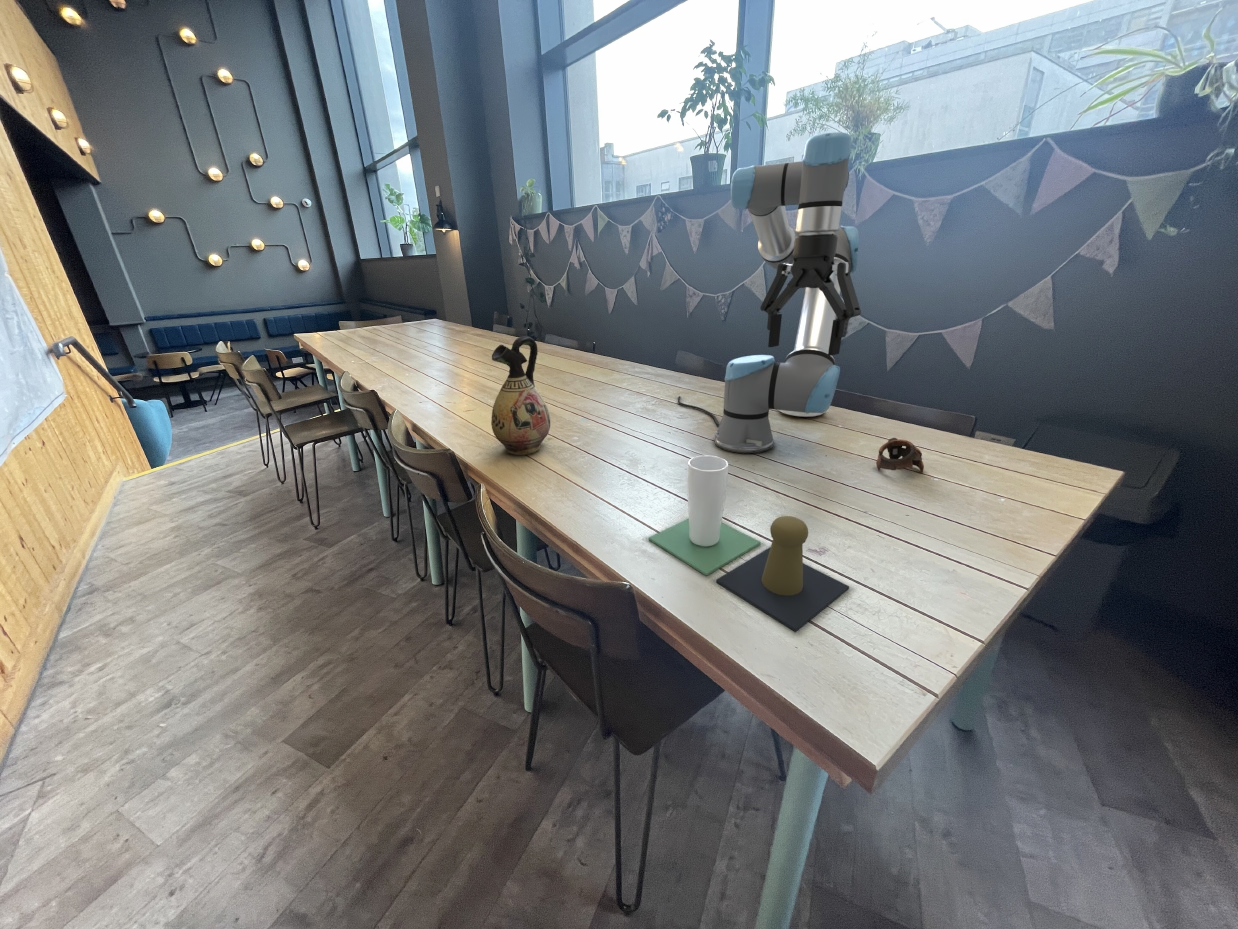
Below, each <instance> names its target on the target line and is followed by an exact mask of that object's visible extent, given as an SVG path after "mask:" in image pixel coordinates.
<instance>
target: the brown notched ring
mask: <svg viewBox="0 0 1238 929" xmlns="http://www.w3.org/2000/svg"><path fill="white" fill-rule="evenodd" d="M885 450H887V453H888V457H886V456H885V455H884V452H885ZM922 456H923V453H922V451H921V449H920V448H918V447H917V446H916V445H914V444H913V442H911V441H909V440H907V439H900V438H899V439H898V438H897V437H892V438H889V439H888V440H887V442H885V443H884V444H882V445H881V446H880V447H879V449H878V455H877V459H876V461H875V463H876V464H875V465H876V469H877V470H878V471H881V469H882V470H888V471H896V470H903V469H911V470H913V469H914V467H913V466H915V467H917V468H918V469H919V471H920V473H921V474H922V473H923V474H924V469H925V464H924V462H923V458H922Z"/></svg>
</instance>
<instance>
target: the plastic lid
mask: <svg viewBox="0 0 1238 929" xmlns="http://www.w3.org/2000/svg"><path fill="white" fill-rule="evenodd" d="M778 412H780V413H782V414H786V415H789V416H795V417H816V416H821V415H823V414H824V413H805V412H795V411H785V410H778Z"/></svg>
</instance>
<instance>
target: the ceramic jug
mask: <svg viewBox="0 0 1238 929" xmlns="http://www.w3.org/2000/svg"><path fill="white" fill-rule="evenodd" d="M511 345H512V346H511V348H509V347H508V346H505V345H504V344H499V345H498V346H497V347H496V348H495V349H494V350H493V352H492V354H491V361H493V362H496V363H500V364H503V365H505V366H507V367H509V370H508V375H507V377H506V379H505V381H504V382H503V384H502V386H501V388H500V389H499V392H498V394H497V395H496V398H495V401H494V403H493V406H492V410H491V421H490V422H491V424H490V426H491V430H492V433H493V435H494V437H495V438H496V440H497V441H498V442H499V443H500V444H501V445H502V446H503V447H504V448H505V451H506V454H511V455H515V456H526V455H530V454H533V453H536V452H538V451H539V450H540V449H541V446H542V445H541V444H542V443H543V441H544V440H545V439H546V438H547V436H548V435H549V432H550V429H551V416H550V411H549V408H548V405H547V403H546V401H545V399H544V398H543V397H542V395H541V393H540V392H539V390H538V389H537V387H536V385H535V379H534V372H535V369H536V363H537V358H538V355H539V354H538V345H537V342H536V340H535V339H534V338H532V337H530V336H528V335H523V336H519V337H518V338H516V339H515V340H514V341H513V343H512V344H511ZM522 346H527V347H529V356H528V359H527V358H526V356H525V355H524V353H523V352H521V351H520V349H521V347H522ZM526 363H527V367H526V370H524V368H523V364H526Z"/></svg>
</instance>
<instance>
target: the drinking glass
mask: <svg viewBox="0 0 1238 929" xmlns="http://www.w3.org/2000/svg"><path fill="white" fill-rule="evenodd" d="M686 470H687V471H686V495H687V509H688V510H687V512H688V519H689V538H690V540H691V541H692V542H693V543H694V544H696V545H699V546H705V547H707V546H712V545H715V544H716V543H717V542H718V541H719V538H720V528H721V522H722V521H723V516H724V515H723V514H724V509H725V504H726V503H725V502H726V497H727V490H728V482H729V462H728V461H727V460H726V459H724V458H722V457H720V456H716V455H707V454H706V455H697V456H693V457H691V458H690V459H689V460H688V461H687V469H686Z"/></svg>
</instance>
